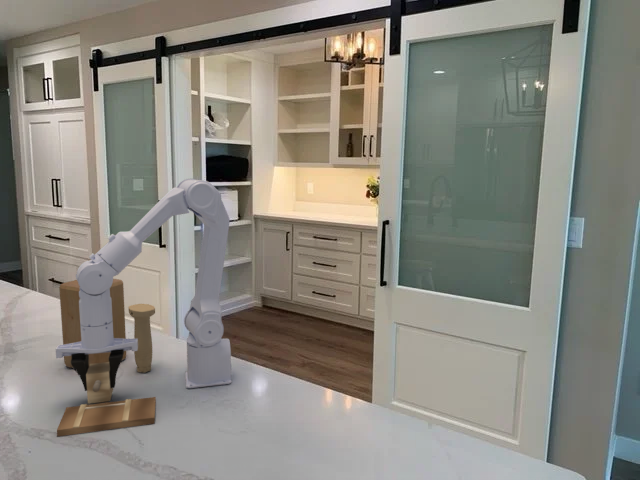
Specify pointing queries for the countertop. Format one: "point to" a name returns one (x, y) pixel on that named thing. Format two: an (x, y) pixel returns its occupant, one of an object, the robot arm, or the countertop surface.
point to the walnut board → (107, 416)
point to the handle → (142, 335)
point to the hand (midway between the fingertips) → (100, 387)
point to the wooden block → (72, 317)
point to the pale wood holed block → (98, 383)
